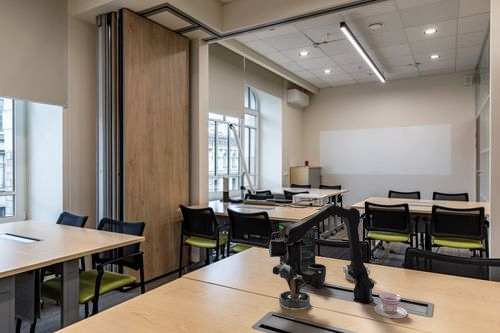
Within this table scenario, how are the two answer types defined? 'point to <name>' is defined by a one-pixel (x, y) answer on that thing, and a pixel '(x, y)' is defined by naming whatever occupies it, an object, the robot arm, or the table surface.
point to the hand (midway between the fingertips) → (294, 293)
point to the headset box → (306, 251)
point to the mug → (320, 272)
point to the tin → (294, 301)
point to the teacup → (390, 306)
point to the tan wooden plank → (293, 289)
